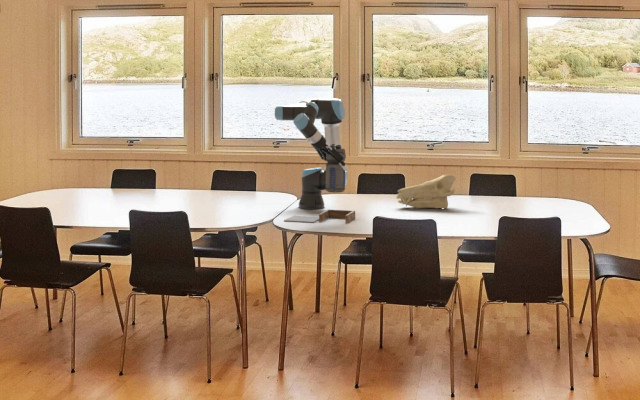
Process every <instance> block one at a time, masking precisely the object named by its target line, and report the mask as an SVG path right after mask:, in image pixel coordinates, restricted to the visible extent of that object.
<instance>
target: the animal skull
mask: <svg viewBox="0 0 640 400" xmlns="http://www.w3.org/2000/svg"><path fill="white" fill-rule="evenodd" d="M455 181H456V176H455V175H452V174H449V173H447V174H446V173H445V174H442V175H441V176H439V177H436V178H434V179H431V180H427V181H424V182H422V183H421V184H416V185H411V186H406V187H403V188H400V189H398V190H397V192H398V193H397V194H396V195H395V196H396V197H395V199H398V200H397V203H398V204H402V205H405V207H407V206H409V207H412V208H415V209H427V208H428V209H429V208H431V209H438V208H446V209H447V208H448V207H449V203H448V202H449V201H448V197H451V196H453V195H454V192H455V188H454V189H452V186H453V184H454V182H455ZM399 199H400V200H399Z"/></svg>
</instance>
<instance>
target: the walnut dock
mask: <svg viewBox="0 0 640 400" xmlns="http://www.w3.org/2000/svg"><path fill="white" fill-rule="evenodd" d="M318 217H319V220H318V222H319V223H321V222H323V221H325V220H327V219H328V218H337V219H345V221H344V223H345V224H348V223H350V222H351V221H353V220H355V219H356V211H355V210H347V209H346V210H342V209H326V210H324V211H322V212H320V213H319V214H318Z"/></svg>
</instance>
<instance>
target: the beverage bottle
mask: <svg viewBox="0 0 640 400" xmlns="http://www.w3.org/2000/svg"><path fill="white" fill-rule="evenodd" d="M332 147H333V148H334V149H335V147H336V149H335V150H336V151H337V152H338V153H339V154H340V155H341V156H342V157H343V158H344V159H343V161H344V162H346V161H345V160H346V158H347V157H346V149H345V148H342V146H341V144H340V145H336V146H335V144H332ZM328 153H329V152H328ZM326 160H327V162H328V163H326V162H325V166H326V190H325V191H326V192H328V193H336V194H337V193H343V192H345V190H346V186H345V171H344V169H343V168H342V167H341V166H340V165H339V164H338V161H337V160H335V159H334V158H333V157H331V156H330V155H327V154H326Z"/></svg>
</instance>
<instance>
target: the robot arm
mask: <svg viewBox="0 0 640 400" xmlns="http://www.w3.org/2000/svg"><path fill="white" fill-rule="evenodd" d="M345 109H346V108H345V105H344V102H343V101H342V99H340V98H332V97H331V98H327V97H326V98H322V97H321V98H310V99H306V100H301V101H299V102H298V103H293V104H288V105H276V107H275V108H274V118H275V119H276V120H277V121H293V122H292V123H293V124H294V126H295V127H296V129H298V131H299V132H300V133H301V134H302V135H303V136H304V138H305V139H306V141H307V142H308V143H310V145H311V146H312V147H313V149H314V150H315V151H316V152H317V154H318V156H319V157H320V159H321V160H323V161H324V162H325V164H326V163H328V162H327V160H326V154H327V155H330V156H331V157H333V158H334V159H335V160H337V161H338V164H339V165H340V166H341V167H342V168H343V169H344V171H345V187H347V183H348V172H347V171H348V170H349V168H350V167H349V166H348V165H347V164H346V161H343V159H344V158H343V157H342V156H341V155H340V154H339V153H338V152H337V151H336V150H335V149H336V147H335V149H334V148H333V147H332V144H335V146H336V145H341V132H340V131H341V130H340V125H341V124H342V122H343V121H342V120H345V116H346V114H345V113H346V110H345ZM316 120H320V123H321V125H323V127H324V135H323V134H322V133H321V131H320V130H319V129H318V128H317V127H316V126H315V124H314V123H315V121H316ZM328 152H329V153H328ZM322 191H326V165H325V167H324V168H322V167H311V168H306V169H303V170H302V172H301V196H300V199H299V202H298V208H300V209H304V210H305V209H307V210H308V209H309V210H319V209H324V208H325V201H324V198H323V195H322Z"/></svg>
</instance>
